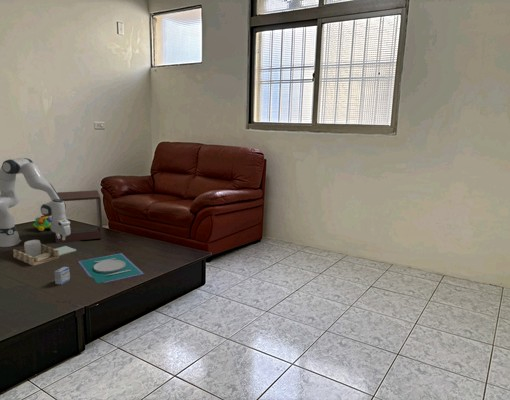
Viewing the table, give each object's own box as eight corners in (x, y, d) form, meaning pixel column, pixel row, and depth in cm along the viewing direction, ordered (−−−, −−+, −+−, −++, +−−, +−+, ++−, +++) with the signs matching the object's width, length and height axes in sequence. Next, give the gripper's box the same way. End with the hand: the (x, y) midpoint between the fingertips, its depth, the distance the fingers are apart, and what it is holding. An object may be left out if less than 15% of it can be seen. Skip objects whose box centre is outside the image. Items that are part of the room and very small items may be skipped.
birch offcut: (33, 260, 260) (33, 257, 260) (45, 255, 269) (45, 252, 269) (38, 261, 259) (37, 258, 258) (50, 256, 268) (49, 253, 268)
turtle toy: (65, 227, 340) (64, 215, 338) (36, 232, 324) (35, 219, 321) (58, 223, 352) (57, 211, 349) (30, 228, 335) (29, 215, 333)
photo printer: (41, 254, 275) (39, 238, 272) (42, 256, 272) (40, 239, 269) (24, 257, 269) (22, 240, 266) (25, 259, 265) (24, 242, 263)
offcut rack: (13, 257, 268) (12, 249, 266) (39, 250, 283) (38, 242, 281) (32, 266, 254) (31, 257, 252) (59, 258, 269) (58, 250, 267)
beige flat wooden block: (31, 263, 260) (31, 260, 259) (47, 257, 270) (46, 255, 270) (36, 264, 258) (36, 261, 257) (52, 258, 269) (51, 256, 268)
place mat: (77, 262, 264) (77, 259, 264) (121, 254, 282) (121, 251, 282) (95, 285, 229) (95, 282, 229) (144, 274, 247) (144, 271, 247)
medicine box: (61, 285, 227) (60, 272, 225) (55, 284, 228) (54, 271, 226) (70, 280, 235) (69, 266, 233) (63, 279, 235) (62, 266, 233)
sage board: (47, 251, 280) (47, 250, 280) (65, 246, 292) (65, 245, 291) (58, 256, 273) (58, 255, 272) (76, 250, 284) (76, 249, 284)
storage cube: (100, 228, 340) (97, 190, 333) (102, 237, 315) (100, 196, 307) (56, 232, 325) (53, 192, 318) (55, 242, 300) (51, 199, 292)
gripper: (47, 219, 280) (49, 237, 283) (63, 224, 269) (64, 242, 272) (56, 217, 285) (57, 235, 288) (71, 222, 274) (73, 240, 277)
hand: (61, 239), depth 280 cm, fingers open, 5 cm apart
